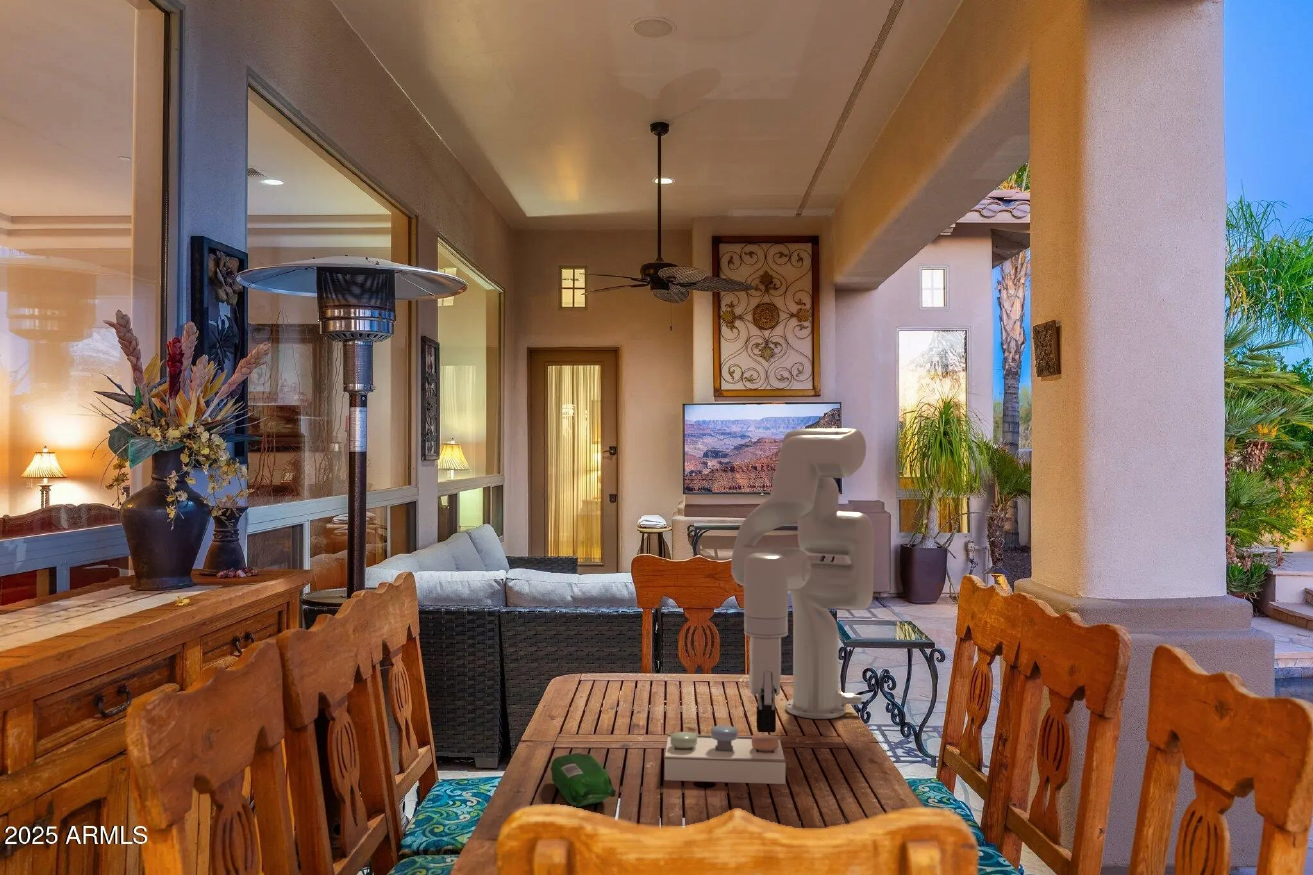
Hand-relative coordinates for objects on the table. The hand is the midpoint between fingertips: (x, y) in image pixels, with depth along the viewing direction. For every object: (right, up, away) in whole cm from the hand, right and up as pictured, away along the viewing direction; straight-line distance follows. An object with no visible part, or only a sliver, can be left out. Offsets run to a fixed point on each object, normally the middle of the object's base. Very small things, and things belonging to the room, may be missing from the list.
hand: (766, 730), depth 147 cm
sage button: (-14, -4, 0) cm, 15 cm away
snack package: (-31, -6, -12) cm, 34 cm away
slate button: (-7, -3, 0) cm, 8 cm away
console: (-7, -7, 0) cm, 10 cm away
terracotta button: (0, -4, -1) cm, 4 cm away
